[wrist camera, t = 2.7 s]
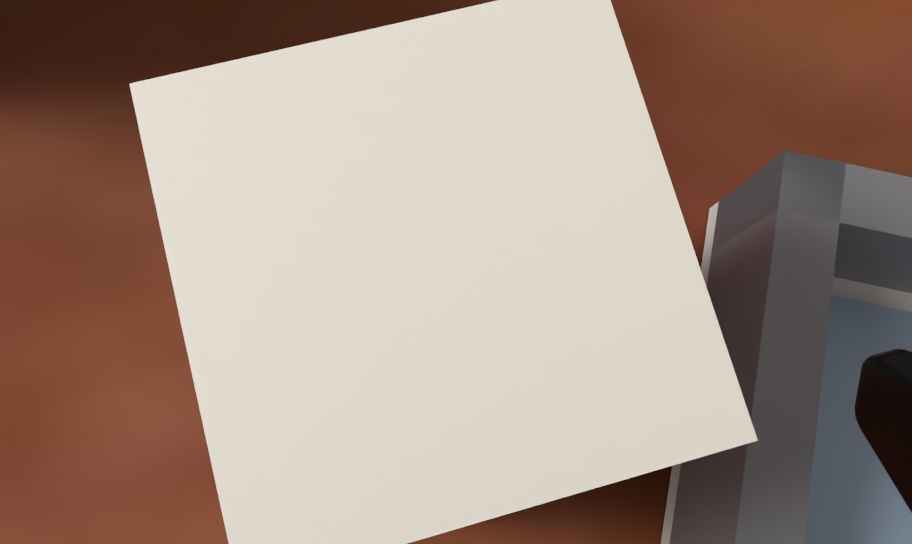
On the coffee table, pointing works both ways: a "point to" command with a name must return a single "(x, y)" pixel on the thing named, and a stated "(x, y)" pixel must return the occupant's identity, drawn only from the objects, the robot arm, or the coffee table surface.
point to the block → (432, 275)
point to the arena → (802, 356)
